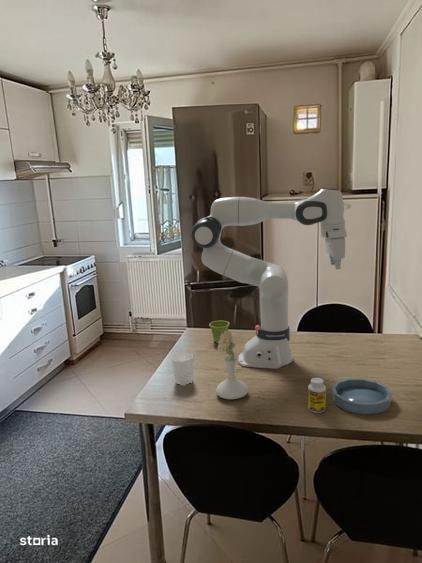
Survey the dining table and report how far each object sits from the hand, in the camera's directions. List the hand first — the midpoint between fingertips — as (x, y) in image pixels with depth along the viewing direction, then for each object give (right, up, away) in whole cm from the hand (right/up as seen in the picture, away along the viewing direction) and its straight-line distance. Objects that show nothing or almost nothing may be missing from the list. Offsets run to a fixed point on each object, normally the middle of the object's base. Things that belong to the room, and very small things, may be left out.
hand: (335, 266), depth 167 cm
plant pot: (-44, -34, +37) cm, 67 cm away
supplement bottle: (-14, -47, -27) cm, 56 cm away
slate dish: (+2, -45, -23) cm, 51 cm away
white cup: (-58, -44, -2) cm, 73 cm away
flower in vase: (-41, -46, -15) cm, 63 cm away
